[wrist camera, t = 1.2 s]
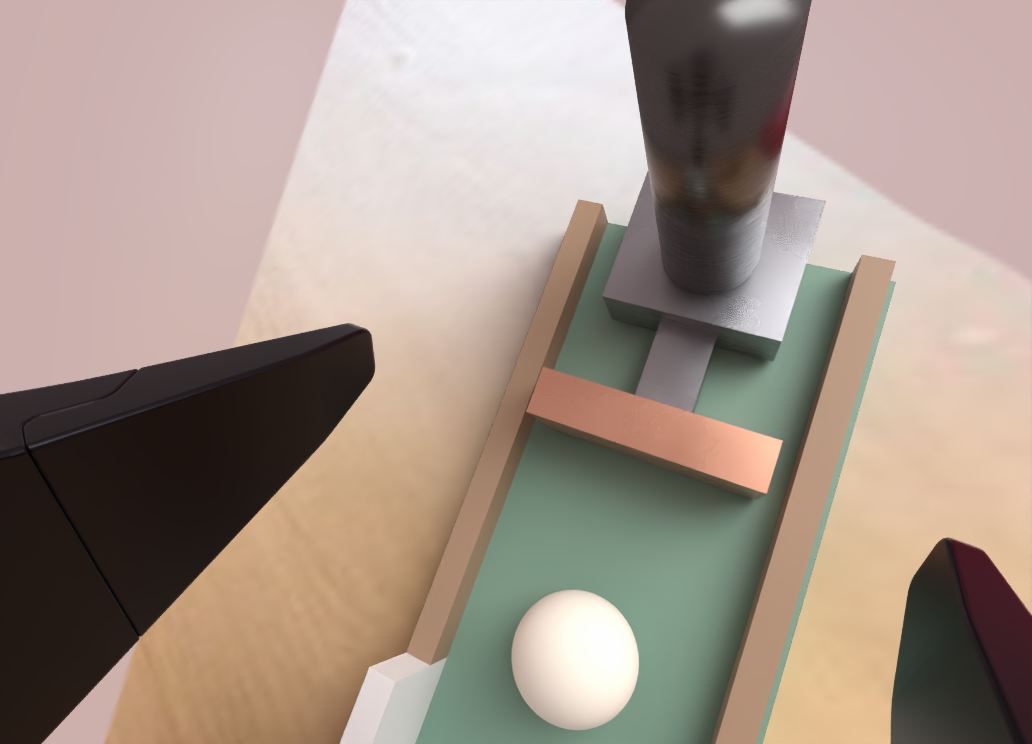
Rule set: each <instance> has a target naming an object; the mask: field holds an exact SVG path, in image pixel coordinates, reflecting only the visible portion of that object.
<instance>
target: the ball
mask: <svg viewBox="0 0 1032 744" xmlns="http://www.w3.org/2000/svg"><path fill="white" fill-rule="evenodd" d="M511 661H512V670H513V674H514V679H515V682H516V685H517V687H518V689H519V691H520V694H521V695H522V697H523V699H524V700H525V702H526V703H527V704H528V706H529V707H530V708H531V709H532V710H533V711H534V712H535V713H536V714H537V715H538V716H540V717H541V718H542V719H544V720H545V721H547V722H549V723H550V724H552V725H555V726H557V727H560V728H564V729H568V730H587V729H592V728H595V727H598V726H601V725H603V724H605V723H607V722H608V721H610V720H611V719H613V718H614V717H615V716H617V715H618V714H619V712H620V711H621V710H622V709H623V708H624V707H625V705H626V704H627V703H628V701H629V699H630V698H631V696H632V694H633V691H634V688H635V686H636V682H637V677H638V671H639V654H638V648H637V643H636V640H635V637H634V634H633V632H632V629H631V627H630V626H629V624H628V622H627V620H626V619H625V618H624V616H623V615H622V614H621V613H620V612H619V610H618V609H617V608H616V607H615V606H613V605H612V604H611V603H610V602H609V601H607V600H605V599H604V598H602V597H600V596H598V595H596V594H594V593H591V592H588V591H583V590H562V591H558V592H554V593H552V594H549V595H547V596H545V597H544V598H542V599H540V600H539V601H538V602H536V603H535V604H534V605H533V606H532V607H531V608H530V609H529V610H528V611H527V612H526V614H525V615H524V616H523V618H522V620H521V621H520V623H519V625H518V627H517V630H516V633H515V635H514V639H513V644H512V657H511Z"/></svg>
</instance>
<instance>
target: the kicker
mask: <svg viewBox="0 0 1032 744" xmlns="http://www.w3.org/2000/svg"><path fill="white" fill-rule="evenodd" d="M811 1H812V0H626V5H625V19H626V25H627V32H628V39H629V45H630V52H631V58H632V65H633V71H634V78H635V85H636V91H637V98H638V104H639V111H640V118H641V124H642V131H643V137H644V144H645V150H646V157H647V164H648V170H649V171H648V172H647V175H646V178H645V180H644V183H643V186H642V189H641V191H640V194H639V197H638V200H637V202H636V205H635V208H634V210H633V213H632V216H631V219H630V221H629V224H628V227H627V230H626V232H625V235H624V238H623V241H622V243H621V246H620V249H619V252H618V254H617V257H616V260H615V263H614V265H613V268H612V271H611V274H610V276H609V279H608V282H607V284H606V287H605V290H604V293H603V295H602V297H603V299H604V301H605V304H606V306H607V308H608V311H609V313H610V316H611V318H612V319H614V320H618V321H622V322H625V323H629V324H633V325H637V326H640V327H644V328H648V329H652V330H655V331H657V333H656V335H655V338H654V341H653V344H652V347H651V350H650V353H649V356H648V358H647V361H646V364H645V367H644V370H643V373H642V376H641V379H640V381H639V384H638V387H637V390H636V393H635V395H633V394H630V393H627V392H623V391H620V390H617V389H614V388H610V387H607V386H604V385H601V384H598V383H594V382H591V381H588V380H585V379H581V378H578V377H575V376H572V375H568V374H565V373H562V372H559V371H556V370H552V369H549V368H546V367H543V368H542V371H541V373H540V376H539V379H538V381H537V384H536V387H535V389H534V392H533V395H532V397H531V400H530V403H529V405H528V408H527V411H526V412H527V413H529V414H530V415H532V416H533V417H535V418H536V419H538V420H539V421H540V422H542V423H543V424H545V425H546V426H548V427H549V428H550V429H553V430H556V431H559V432H562V433H565V434H568V435H570V436H573V437H576V438H579V439H582V440H585V441H588V442H590V443H593V444H596V445H599V446H602V447H605V448H608V449H611V450H613V451H616V452H619V453H622V454H625V455H628V456H631V457H634V458H636V459H639V460H642V461H645V462H648V463H651V464H654V465H657V466H659V467H662V468H665V469H668V470H671V471H674V472H677V473H679V474H682V475H685V476H688V477H691V478H694V479H697V480H700V481H702V482H705V483H708V484H711V485H714V486H717V487H720V488H723V489H725V490H728V491H731V492H734V493H737V494H740V495H743V496H746V497H748V498H751V499H754V500H758V499H760V498H761V497H763V496H764V495H766V494H767V491H768V488H769V484H770V481H771V478H772V475H773V471H774V468H775V465H776V462H777V458H778V455H779V452H780V449H781V445H782V442H783V441H782V440H779V439H775V438H772V437H769V436H766V435H762V434H759V433H756V432H753V431H750V430H746V429H743V428H740V427H737V426H733V425H730V424H727V423H724V422H720V421H717V420H714V419H711V418H707V417H704V416H701V415H698V414H695V413H694V412H695V409H696V406H697V403H698V400H699V397H700V394H701V391H702V388H703V385H704V382H705V379H706V376H707V373H708V370H709V367H710V364H711V361H712V358H713V354H714V351H715V348H716V347H719V348H723V349H727V350H731V351H734V352H738V353H742V354H746V355H749V356H753V357H757V358H761V359H764V360H768V361H772V362H774V359H775V357H776V354H777V352H778V349H779V347H780V344H781V342H782V339H783V336H784V332H785V329H786V326H787V323H788V320H789V316H790V313H791V310H792V307H793V304H794V301H795V297H796V294H797V291H798V288H799V285H800V281H801V278H802V275H803V272H804V269H805V266H806V262H807V259H808V256H809V253H810V250H811V247H812V243H813V240H814V237H815V234H816V231H817V227H818V224H819V221H820V218H821V215H822V212H823V208H824V205H825V202H826V201H823V200H817V199H811V198H805V197H799V196H793V195H787V194H781V193H775V192H773V190H774V185H775V180H776V175H777V170H778V165H779V160H780V155H781V150H782V145H783V140H784V135H785V130H786V125H787V120H788V115H789V109H790V105H791V99H792V95H793V90H794V85H795V80H796V75H797V70H798V65H799V60H800V55H801V50H802V45H803V40H804V35H805V30H806V26H807V21H808V15H809V11H810V6H811Z"/></svg>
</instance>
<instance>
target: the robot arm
mask: <svg viewBox="0 0 1032 744" xmlns="http://www.w3.org/2000/svg"><path fill="white" fill-rule="evenodd" d="M374 373H375V359H374V351H373V342H372V336H371V334H370V332H369V331H368V330H367V329H365V328H363V327H360V326H357V325H354V324H350V323H347V324H341V325H337V326H332V327H328V328H323V329H318V330H314V331H309V332H305V333H300V334H295V335H291V336H286V337H281V338H277V339H272V340H268V341H263V342H258V343H254V344H249V345H244V346H240V347H235V348H231V349H227V350H222V351H217V352H212V353H207V354H203V355H198V356H194V357H189V358H185V359H180V360H175V361H171V362H166V363H162V364H157V365H152V366H147V367H143V368H141V369H139V370H137V369H133V370H128V371H124V372H120V373H115V374H110V375H105V376H100V377H95V378H91V379H85V380H80V381H75V382H70V383H64V384H58V385H54V386H47V387H41V388H36V389H30V390H24V391H18V392H12V393H6V394H0V744H42V742H44V741H45V739H46V738H47V737H48V736H49V735H50V734H51V733H52V732H53V731H54V730H55V729H56V728H57V727H58V726H59V724H60V723H61V722H62V721H63V720H64V719H65V718H66V717H67V716H68V715H69V714H70V713H71V712H72V711H73V710H74V708H75V707H76V706H77V705H78V704H79V703H80V702H81V701H82V700H83V699H84V698H85V697H86V696H87V695H88V693H89V692H90V691H91V690H92V689H93V688H94V687H95V686H96V685H97V684H98V683H99V682H100V681H101V680H102V679H103V678H104V676H105V675H106V674H107V673H108V672H109V671H110V670H111V669H112V668H113V667H114V666H115V665H116V664H117V663H118V661H119V660H120V659H121V658H122V657H123V656H124V655H125V654H126V653H127V652H128V651H129V650H130V649H131V648H132V647H133V645H134V644H135V643H136V642H137V641H138V640H139V636H142V635H143V634H144V633H145V632H146V631H147V630H148V629H149V628H150V627H151V626H152V625H153V624H154V623H155V622H156V621H157V619H158V618H159V617H160V616H161V615H162V614H163V613H164V612H165V611H166V610H167V609H168V608H169V607H170V606H171V605H172V603H173V602H174V601H175V600H176V599H177V598H178V597H179V596H180V595H181V594H182V593H183V592H184V591H185V590H186V589H187V587H188V586H189V585H190V584H191V583H192V582H193V581H194V580H195V579H196V578H197V577H198V576H199V575H200V574H201V573H202V572H203V570H204V569H205V568H206V567H207V566H208V565H209V564H210V563H211V562H212V561H213V560H214V559H215V558H216V557H217V556H218V554H219V553H220V552H221V551H222V550H223V549H224V548H225V547H226V546H227V545H228V544H229V543H230V542H231V541H232V540H233V538H234V537H235V536H236V535H237V534H238V533H239V532H240V531H241V530H242V529H243V528H244V527H245V526H246V525H247V524H248V522H249V521H250V520H251V519H252V518H253V517H254V516H255V515H256V514H257V513H258V512H259V511H260V510H261V509H262V508H263V506H264V505H265V504H266V503H267V502H268V501H269V500H270V499H271V498H272V497H273V496H274V495H275V494H276V493H277V492H278V491H279V489H280V488H281V487H282V486H283V485H284V484H285V483H286V482H287V481H288V480H289V479H290V478H291V477H292V476H293V475H294V473H295V472H296V471H297V470H298V469H299V468H300V467H301V466H302V465H303V464H304V463H305V462H306V461H307V460H308V459H309V457H310V456H311V455H312V454H313V453H314V452H315V451H316V450H317V449H318V448H319V447H320V445H321V444H322V443H323V442H324V441H325V440H326V439H327V437H328V436H329V435H330V434H331V432H332V431H333V430H334V429H335V427H336V426H337V425H338V423H339V422H340V421H341V419H342V418H343V417H344V415H345V414H346V413H347V411H348V410H349V409H350V408H351V406H352V405H353V404H354V402H355V401H356V400H357V398H358V397H359V396H360V394H361V393H362V392H363V390H364V389H365V388H366V387H367V385H368V384H369V383H370V381H371V380H372V378H373V376H374ZM891 744H1032V615H1031V614H1030V612H1029V611H1028V609H1027V608H1026V607H1025V605H1024V604H1023V603H1022V601H1021V600H1020V599H1019V597H1018V596H1017V594H1016V593H1015V592H1014V590H1013V589H1012V588H1011V586H1010V585H1009V584H1008V582H1007V581H1006V579H1005V578H1004V577H1003V575H1002V574H1001V573H1000V571H999V570H998V569H997V567H996V566H995V565H994V563H993V562H992V560H991V559H990V558H989V556H988V555H987V554H986V553H985V552H984V551H983V550H981V549H980V548H977V547H975V546H972V545H969V544H966V543H964V542H961V541H958V540H955V539H952V538H943V539H942V540H940V541H939V542H938V543H937V544H936V546H935V547H934V548H933V550H932V551H931V553H930V554H929V555H928V557H927V558H926V560H925V561H924V562H923V564H922V565H921V567H920V568H919V569H918V571H917V572H916V574H915V575H914V577H913V579H912V581H911V584H910V587H909V590H908V596H907V602H906V609H905V615H904V622H903V628H902V635H901V641H900V648H899V654H898V661H897V667H896V674H895V680H894V688H893V695H892V709H891Z"/></svg>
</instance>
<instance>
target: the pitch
mask: <svg viewBox="0 0 1032 744" xmlns="http://www.w3.org/2000/svg"><path fill="white" fill-rule="evenodd" d="M626 230H627V227H626V226H621V225H616V224H611V223H608V221H607V218H606V214H605V211H604V208H603V205H602V204H599V203H594V202H588V201H583V200H578V202H577V205H576V208H575V210H574V213H573V215H572V218H571V221H570V223H569V226H568V229H567V231H566V234H565V236H564V239H563V242H562V244H561V247H560V250H559V252H558V255H557V257H556V260H555V263H554V265H553V268H552V271H551V273H550V276H549V278H548V281H547V284H546V286H545V289H544V292H543V294H542V297H541V299H540V302H539V305H538V307H537V310H536V313H535V315H534V318H533V320H532V323H531V326H530V328H529V331H528V334H527V336H526V339H525V341H524V344H523V347H522V349H521V352H520V355H519V357H518V360H517V362H516V365H515V368H514V370H513V373H512V376H511V378H510V381H509V383H508V386H507V389H506V391H505V394H504V397H503V399H502V402H501V404H500V407H499V410H498V412H497V415H496V418H495V420H494V423H493V426H492V428H491V431H490V433H489V436H488V439H487V441H486V444H485V447H484V449H483V452H482V454H481V457H480V460H479V462H478V465H477V468H476V470H475V473H474V475H473V478H472V481H471V483H470V486H469V489H468V491H467V494H466V496H465V499H464V502H463V504H462V507H461V510H460V512H459V515H458V517H457V520H456V523H455V525H454V528H453V531H452V533H451V536H450V538H449V541H448V544H447V546H446V549H445V552H444V554H443V557H442V559H441V562H440V565H439V567H438V570H437V573H436V575H435V578H434V580H433V583H432V586H431V588H430V591H429V594H428V596H427V599H426V601H425V604H424V607H423V609H422V612H421V615H420V617H419V620H418V622H417V625H416V628H415V630H414V633H413V636H412V638H411V641H410V643H409V646H408V649H407V651H406V653H408V654H410V655H412V656H414V657H415V658H417V659H419V660H421V661H423V662H425V663H426V664H428V665H432V664H434V663H436V662H438V661H440V660H442V659H445V658H447V659H446V662H445V665H444V667H443V670H442V673H441V675H440V678H439V681H438V684H437V686H436V689H435V692H434V694H433V697H432V700H431V702H430V705H429V708H428V711H427V713H426V716H425V719H424V721H423V724H422V727H421V729H420V732H419V735H418V738H417V740H416V743H415V744H762V743H763V740H764V736H765V733H766V729H767V726H768V722H769V719H770V715H771V712H772V708H773V705H774V702H775V698H776V695H777V691H778V688H779V684H780V681H781V677H782V674H783V670H784V667H785V664H786V660H787V657H788V653H789V650H790V646H791V643H792V639H793V636H794V632H795V629H796V626H797V622H798V619H799V615H800V612H801V608H802V605H803V601H804V598H805V594H806V591H807V587H808V584H809V581H810V577H811V574H812V570H813V567H814V563H815V560H816V556H817V553H818V549H819V546H820V543H821V539H822V536H823V532H824V529H825V525H826V522H827V518H828V515H829V511H830V508H831V505H832V501H833V498H834V494H835V491H836V487H837V484H838V480H839V477H840V473H841V470H842V466H843V463H844V460H845V456H846V453H847V449H848V446H849V442H850V439H851V435H852V432H853V428H854V425H855V422H856V418H857V415H858V411H859V408H860V404H861V401H862V397H863V394H864V390H865V387H866V384H867V380H868V377H869V373H870V370H871V366H872V363H873V359H874V356H875V352H876V349H877V345H878V342H879V339H880V335H881V332H882V328H883V325H884V321H885V318H886V314H887V311H888V307H889V304H890V301H891V297H892V294H893V290H894V287H895V283H896V282H893V281H890V279H891V276H892V273H893V269H894V266H895V262H896V261H891V260H886V259H881V258H876V257H871V256H866V255H862V256H861V258H860V260H859V262H858V263H857V265H856V267H855V269H854V270H853V272H852V273H849V272H845V271H840V270H835V269H830V268H825V267H820V266H815V265H811V264H806V266H805V269H804V272H803V275H802V278H801V281H800V285H799V288H798V291H797V294H796V297H795V301H794V304H793V307H792V310H791V313H790V316H789V320H788V323H787V326H786V329H785V332H784V336H783V339H782V342H781V344H780V347H779V349H778V352H777V354H776V357H775V359H774V362H772V361H768V360H764V359H761V358H757V357H753V356H749V355H746V354H742V353H738V352H734V351H731V350H727V349H723V348H719V347H716V348H715V351H714V354H713V358H712V361H711V364H710V367H709V370H708V373H707V376H706V379H705V382H704V385H703V388H702V391H701V394H700V397H699V400H698V403H697V406H696V409H695V412H694V413H695V414H698V415H701V416H704V417H707V418H711V419H714V420H717V421H720V422H724V423H727V424H730V425H733V426H737V427H740V428H743V429H746V430H750V431H753V432H756V433H759V434H762V435H766V436H769V437H772V438H775V439H779V440H782V441H783V442H782V445H781V449H780V452H779V455H778V458H777V462H776V465H775V468H774V471H773V475H772V478H771V481H770V484H769V488H768V491H767V494H766V495H764V496H763V497H761V498H760V499H758V500H754V499H751V498H748V497H746V496H743V495H740V494H737V493H734V492H731V491H728V490H725V489H723V488H720V487H717V486H714V485H711V484H708V483H705V482H702V481H700V480H697V479H694V478H691V477H688V476H685V475H682V474H679V473H677V472H674V471H671V470H668V469H665V468H662V467H659V466H657V465H654V464H651V463H648V462H645V461H642V460H639V459H636V458H634V457H631V456H628V455H625V454H622V453H619V452H616V451H613V450H611V449H608V448H605V447H602V446H599V445H596V444H593V443H590V442H588V441H585V440H582V439H579V438H576V437H573V436H570V435H568V434H565V433H562V432H559V431H556V430H553V429H550V428H549V427H548V426H546V425H545V424H543V423H542V422H540V421H539V420H538V419H536V418H535V417H533V416H532V415H530V414H529V413H527V412H526V411H527V408H528V405H529V403H530V400H531V397H532V395H533V392H534V389H535V387H536V384H537V381H538V379H539V376H540V373H541V371H542V368H543V367H546V368H549V369H552V370H556V371H559V372H562V373H565V374H568V375H572V376H575V377H578V378H581V379H585V380H588V381H591V382H594V383H598V384H601V385H604V386H607V387H610V388H614V389H617V390H620V391H623V392H627V393H630V394H633V395H635V393H636V390H637V387H638V384H639V381H640V379H641V376H642V373H643V370H644V367H645V364H646V361H647V358H648V356H649V353H650V350H651V347H652V344H653V341H654V338H655V335H656V333H657V331H655V330H652V329H648V328H644V327H640V326H637V325H633V324H629V323H625V322H622V321H618V320H614V319H612V318H611V316H610V313H609V311H608V308H607V306H606V304H605V301H604V299H603V297H602V295H603V293H604V290H605V287H606V284H607V282H608V279H609V276H610V274H611V271H612V268H613V265H614V263H615V260H616V257H617V254H618V252H619V249H620V246H621V243H622V241H623V238H624V235H625V232H626ZM562 590H583V591H588V592H591V593H594V594H596V595H598V596H600V597H602V598H604V599H605V600H607V601H609V602H610V603H611V604H612V605H613V606H615V607H616V608H617V609H618V610H619V612H620V613H621V614H622V615H623V616H624V618H625V619H626V620H627V622H628V624H629V626H630V627H631V629H632V632H633V634H634V637H635V640H636V643H637V648H638V654H639V671H638V677H637V682H636V686H635V688H634V691H633V694H632V696H631V698H630V699H629V701H628V703H627V704H626V705H625V707H624V708H623V709H622V710H621V711H620V712H619V714H618V715H617V716H615V717H614V718H613V719H611V720H610V721H608V722H607V723H605V724H603V725H601V726H598V727H595V728H592V729H587V730H568V729H564V728H560V727H557V726H555V725H552V724H550V723H549V722H547V721H545V720H544V719H542V718H541V717H540V716H538V715H537V714H536V713H535V712H534V711H533V710H532V709H531V708H530V707H529V706H528V704H527V703H526V702H525V700H524V699H523V697H522V695H521V694H520V691H519V689H518V687H517V685H516V682H515V679H514V674H513V670H512V661H511V657H512V644H513V639H514V635H515V633H516V630H517V627H518V625H519V623H520V621H521V620H522V618H523V616H524V615H525V614H526V612H527V611H528V610H529V609H530V608H531V607H532V606H533V605H534V604H535V603H536V602H538V601H539V600H540V599H542V598H544V597H545V596H547V595H549V594H552V593H554V592H558V591H562Z"/></svg>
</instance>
